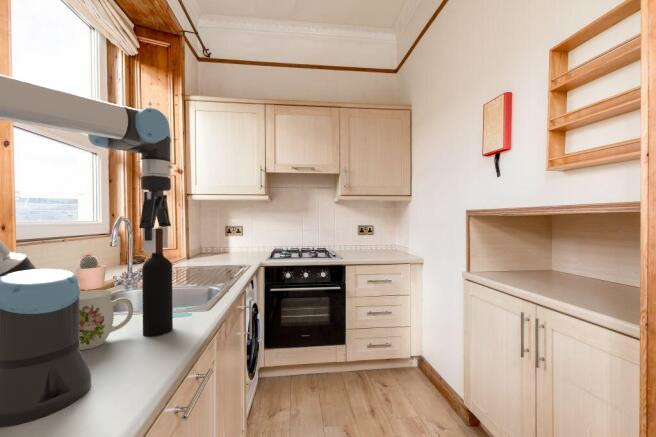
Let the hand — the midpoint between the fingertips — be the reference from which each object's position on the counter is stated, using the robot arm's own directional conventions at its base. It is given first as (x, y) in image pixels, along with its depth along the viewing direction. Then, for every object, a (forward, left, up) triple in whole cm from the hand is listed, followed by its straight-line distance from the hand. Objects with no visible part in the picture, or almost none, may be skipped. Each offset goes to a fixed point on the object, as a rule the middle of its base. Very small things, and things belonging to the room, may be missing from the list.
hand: (156, 250), depth 88 cm
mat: (+18, -5, -24) cm, 30 cm away
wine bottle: (0, 0, -24) cm, 24 cm away
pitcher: (-5, +14, -24) cm, 28 cm away
